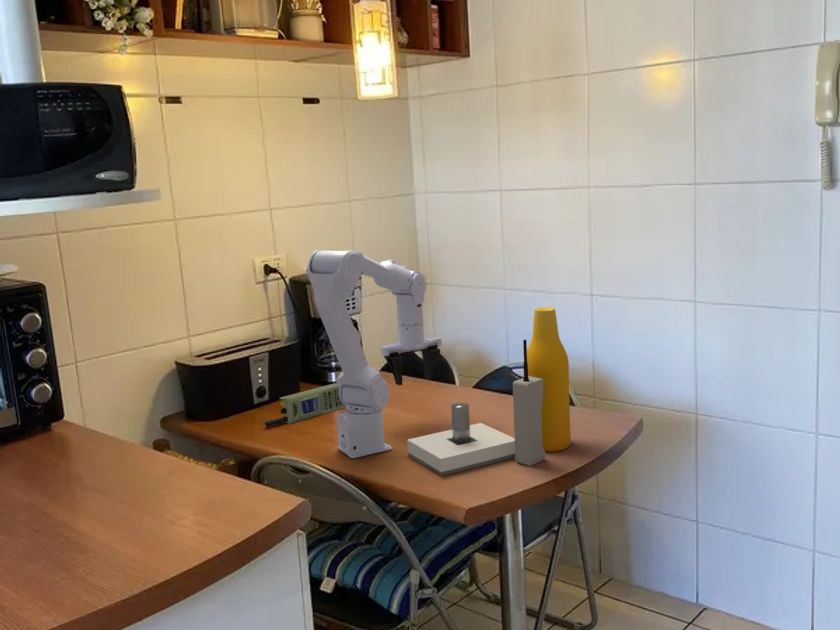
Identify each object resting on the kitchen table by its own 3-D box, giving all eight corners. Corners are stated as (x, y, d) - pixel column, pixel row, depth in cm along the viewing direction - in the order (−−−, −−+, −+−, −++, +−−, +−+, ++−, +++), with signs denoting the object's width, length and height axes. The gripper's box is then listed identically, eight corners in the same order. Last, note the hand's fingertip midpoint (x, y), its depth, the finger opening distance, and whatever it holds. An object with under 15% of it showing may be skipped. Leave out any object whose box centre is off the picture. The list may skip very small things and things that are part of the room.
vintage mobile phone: (545, 459, 168) (542, 337, 163) (530, 466, 164) (526, 342, 160) (531, 455, 170) (527, 335, 166) (515, 462, 167) (510, 340, 162)
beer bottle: (544, 434, 183) (541, 303, 177) (579, 443, 176) (577, 307, 171) (517, 446, 176) (512, 310, 171) (552, 455, 170) (548, 314, 164)
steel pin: (458, 456, 170) (456, 409, 168) (450, 451, 173) (448, 404, 171) (474, 453, 171) (472, 406, 169) (465, 448, 175) (463, 401, 173)
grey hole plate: (441, 476, 162) (440, 458, 161) (408, 455, 174) (407, 439, 174) (518, 456, 170) (518, 440, 170) (481, 438, 182) (480, 422, 182)
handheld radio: (355, 406, 212) (270, 431, 196) (347, 404, 215) (263, 429, 199) (352, 380, 211) (267, 403, 195) (345, 379, 214) (260, 401, 198)
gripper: (389, 330, 183) (393, 390, 185) (447, 321, 190) (449, 379, 192) (375, 325, 189) (379, 384, 191) (431, 317, 196) (434, 373, 198)
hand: (413, 381), depth 192 cm, fingers open, 7 cm apart
